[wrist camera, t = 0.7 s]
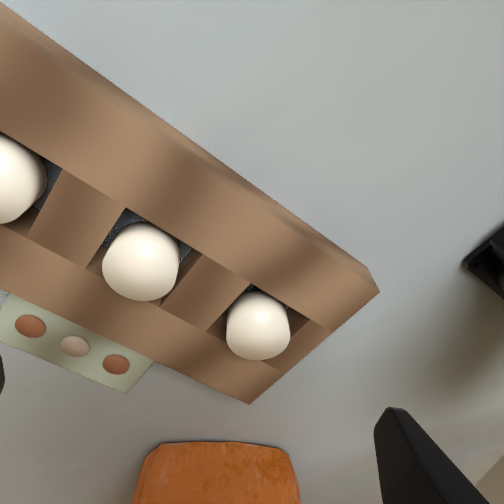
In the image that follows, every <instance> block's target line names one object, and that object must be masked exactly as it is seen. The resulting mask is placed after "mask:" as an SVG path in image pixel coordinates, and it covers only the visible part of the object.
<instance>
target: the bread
mask: <svg viewBox="0 0 504 504" xmlns="http://www.w3.org/2000/svg"><path fill="white" fill-rule="evenodd" d="M131 504H301V502H300V494H299V487H298V482H297V479H296V476H295V473H294V470H293V467H292V464H291V461H290V458H289V455H288V454H286V453H285V452H283V451H282V450H280V449H277V448H271V447H266V446H260V445H254V444H247V443H240V442H234V441H232V442H182V443H164V444H161V445H159V446H158V447H157V448H156V449H155V450H153V451H152V452H151V453H150V454H149V455H147V456H146V458H145V460H144V463H143V465H142V468H141V472H140V475H139V479H138V482H137V486H136V489H135V492H134V496H133V499H132V503H131Z"/></svg>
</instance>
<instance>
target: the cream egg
mask: <svg viewBox="0 0 504 504" xmlns="http://www.w3.org/2000/svg"><path fill="white" fill-rule="evenodd" d="M46 186H47V173H46V169H45V167H44V164H43V162H42V160H41V159H40V157H39V156H38V154H37V153H36V152H34V151H33V150H31V149H29V148H28V147H26V146H25V145H23V144H21V143H20V142H18V141H16V140H15V139H13V138H11V137H10V136H8V135H6V134H5V133H3V132H0V224H3V223H8V222H11V221H13V220H15V219H16V218H18V217H19V216H20V215H21V214H22V213H24V212H25V211H26V210H27V209H28V208H29V207H30V206H31V205H32V204H34V203H35V202H36V201H37V200H38V199H39V198H40V197H41V196H42V195H43V193H44V191H45V189H46Z"/></svg>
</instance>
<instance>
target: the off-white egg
mask: <svg viewBox="0 0 504 504" xmlns="http://www.w3.org/2000/svg"><path fill="white" fill-rule="evenodd" d="M180 260H181V247H180V244H179V242H178V240H177V239H176V237H174V236H173V235H171V234H169V233H168V232H166V231H164V230H163V229H161V228H159V227H158V226H156V225H154V224H153V223H151V222H135V223H132V224H129V225H127V226H125V227H124V228H122V229H121V230H120V231H119V232H118V234H117V235H116V237H115V239H114V241H113V242H112V244H111V246H110V248H109V250H108V251H107V253H106V255H105V257H104V259H103V262H102V272H103V276H104V278H105V280H106V282H107V283H108V285H109V286H110V287H111V288H112V289H113V290H114V291H115V292H117V293H118V294H120V295H122V296H124V297H126V298H129V299H132V300H137V301H151V300H155V299H158V298H161V297H163V296H164V295H166V294H167V293H168V292H169V291H170V290H171V289H172V288H173V286H174V284H175V281H176V277H177V273H178V268H179V264H180Z"/></svg>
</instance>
